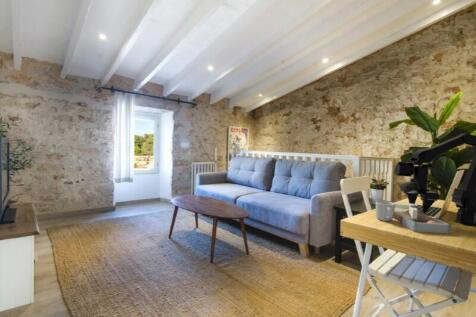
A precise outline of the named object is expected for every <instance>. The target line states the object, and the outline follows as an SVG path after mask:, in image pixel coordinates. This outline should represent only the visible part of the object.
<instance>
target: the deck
mask: <svg viewBox="0 0 476 317" xmlns="http://www.w3.org/2000/svg"><path fill="white" fill-rule="evenodd" d="M402 217H406V218H408V219H410V220H412V221H414V222H416V223H427V222H428V221H433V217H432V216H429V215H427V214H426V213H423V212H417V219H412V217H411V215H410V213H409V211H395V210H394V215H393V219H394V220H395V221H397V222H399V223H401V224H402Z"/></svg>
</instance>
